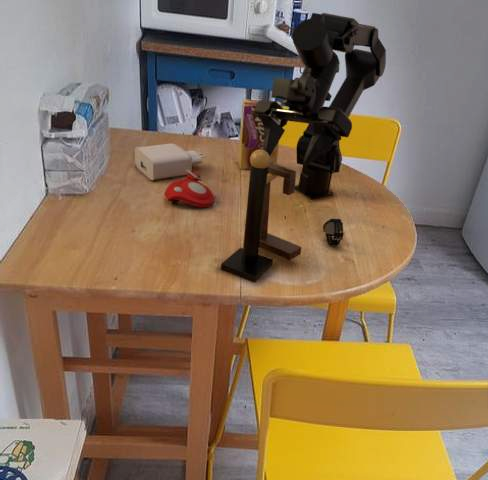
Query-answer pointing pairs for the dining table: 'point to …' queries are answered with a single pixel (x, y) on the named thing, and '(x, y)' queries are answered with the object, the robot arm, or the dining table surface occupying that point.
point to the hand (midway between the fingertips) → (284, 161)
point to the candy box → (252, 135)
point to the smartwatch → (333, 231)
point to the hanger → (266, 239)
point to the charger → (165, 160)
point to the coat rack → (252, 224)
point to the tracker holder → (190, 191)
